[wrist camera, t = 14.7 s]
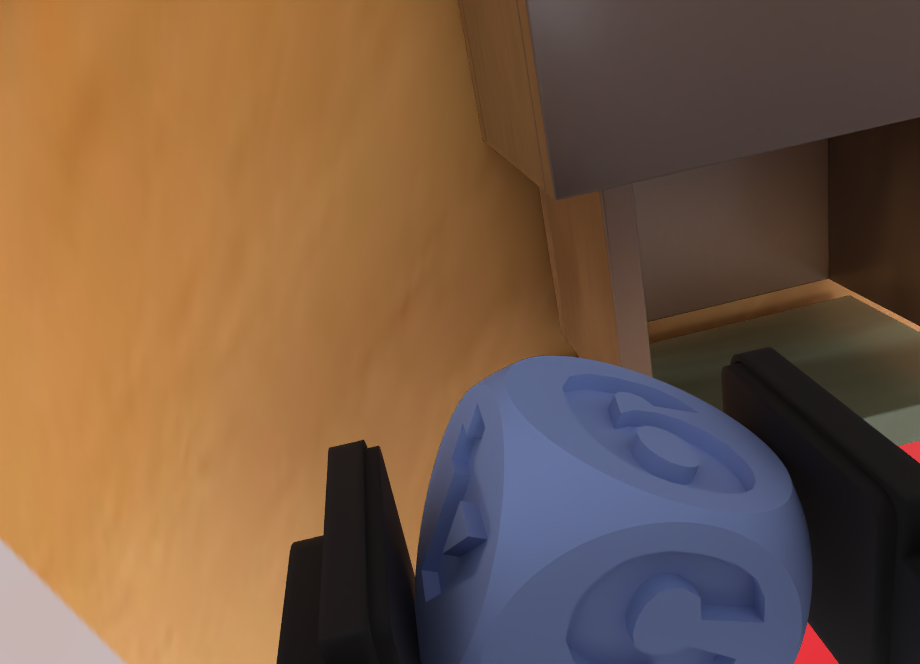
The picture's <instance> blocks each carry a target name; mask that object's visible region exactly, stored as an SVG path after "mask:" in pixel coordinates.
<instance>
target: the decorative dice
mask: <svg viewBox="0 0 920 664" xmlns="http://www.w3.org/2000/svg"><path fill="white" fill-rule="evenodd" d="M811 595H812V554H811V544H810V537H809V531H808V527H807V522H806V518H805V514H804V511H803V508H802V505H801V502H800V499H799V497H798V494H797V492H796V490H795V487H794V485H793V482H792V480H791V477H790V475H789V473H788V471H787V469H786V468H785V466H784V464H783V463H782V462H781V460H780V459H779V458H778V456H777V455H776V454H775V453H774V452H773V451H772V450H771V449H770V448H769V447H768V446H767V445H766V444H765V443H764V442H763V441H762V440H761V439H759V438H758V437H757V436H756V435H755V434H753V433H752V432H751V431H750V430H748V429H747V428H746V427H744V426H743V425H742V424H740V423H739V422H737V421H736V420H734V419H733V418H731V417H730V416H728V415H727V414H725V413H723V412H722V411H720V410H719V409H717V408H715V407H713V406H712V405H710V404H708V403H706V402H705V401H703V400H701V399H699V398H697V397H695V396H693V395H691V394H689V393H687V392H685V391H683V390H681V389H678V388H676V387H674V386H672V385H669V384H667V383H665V382H662V381H660V380H657V379H655V378H652V377H649V376H647V375H644V374H641V373H638V372H635V371H632V370H629V369H626V368H623V367H619V366H616V365H612V364H608V363H604V362H600V361H595V360H590V359H584V358H578V357H570V356H553V355H550V356H536V357H531V358H526V359H524V360H521V361H518V362H516V363H514V364H511V365H509V366H507V367H504V368H502V369H501V370H499V371H497V372H495V373H493V374H492V375H490V376H488V377H486V378H485V379H483V380H482V381H480V382H479V383H477V384H476V385H474V386H473V387H472V388H470V389H469V390H468V391H467V392H466V394H465V395H464V396H463V398H462V399H461V400H460V402H459V404H458V405H457V407H456V409H455V411H454V413H453V415H452V417H451V419H450V421H449V424H448V426H447V428H446V431H445V433H444V436H443V439H442V442H441V445H440V448H439V451H438V454H437V457H436V460H435V464H434V468H433V471H432V475H431V479H430V483H429V487H428V492H427V497H426V501H425V506H424V512H423V517H422V523H421V530H420V537H419V544H418V553H417V563H416V576H415V614H416V624H417V633H418V643H419V653H420V660H421V663H422V664H794V661H795V659H796V657H797V655H798V652H799V650H800V647H801V644H802V641H803V637H804V634H805V630H806V626H807V622H808V617H809V611H810V604H811Z"/></svg>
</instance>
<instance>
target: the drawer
mask: <svg viewBox="0 0 920 664" xmlns="http://www.w3.org/2000/svg"><path fill="white" fill-rule="evenodd" d="M539 192H540V198H541V205H542V211H543V218H544V224H545V230H546V237H547V243H548V250H549V256H550V263H551V269H552V276H553V282H554V289H555V295H556V301H557V308H558V314H559V321H560V327H561V332H562V334H563V335H564V337H565V338H566V339H567V340H568V342H569V344H570V345H571V346H572V348H573V349H574V351H575V352H576V354H577V355H578V356H579V358H584V359H590V360H595V361H600V362H604V363H608V364H612V365H616V366H619V367H623V368H626V369H629V370H632V371H635V372H638V373H641V374H644V375H647V376H649V377H652V378H655V379H657V380H660V381H662V382H665V383H667V384H669V385H672V386H674V387H676V388H678V389H681V390H683V391H685V392H687V393H689V394H691V395H693V396H695V397H697V398H699V399H701V400H703V401H705V402H706V403H708V404H710V405H712V406H713V407H715V408H717V409H719V410H720V411H722V412H723V401H722V382H721V372H722V368H723V367H724V366H727V365H730V362H731V358H732V357H733V356H734V355H735V354H740V353H744V352H748V351H753V350H757V349H761V348H766V347H771V348H773V349H774V350H776V351H777V352H778V353H779V354H781V355H782V356H783V357H785V358H786V359H787V360H788V361H790V362H791V363H792V364H794V365H795V366H796V367H797V368H799V369H800V370H801V371H802V372H804V373H805V374H806V375H808V376H809V377H810V378H811V379H813V380H814V381H815V382H816V383H818V384H819V385H820V386H822V387H823V388H824V389H825V390H827V391H828V392H829V393H831V394H832V395H833V396H834V397H836V398H837V399H838V400H839V401H841V402H842V403H843V404H845V405H846V406H847V407H848V408H850V409H851V410H852V411H853V412H855V413H856V414H857V415H859V416H860V417H861V418H862V419H864V420H865V421H866V422H868V423H869V424H870V425H871V426H873V427H874V428H875V429H876V430H878V431H879V432H880V433H882V434H883V435H884V436H885V437H887V438H888V439H889V440H890V441H892V442H893V443H894V444H896V445H897V446H900V445H904V444H908V443H912V442H916V441H920V332H918V331H916V330H914V329H913V328H911V327H909V326H907V325H905V324H903V323H901V322H899V321H897V320H896V319H894V318H892V317H890V316H888V315H886V314H884V313H882V312H880V311H878V310H877V309H875V308H873V307H871V306H869V305H867V304H865V303H863V302H861V301H860V300H858V299H856V298H854V297H852V296H844V297H840V298H836V299H832V300H828V301H824V302H820V303H815V304H811V305H807V306H803V307H799V308H795V309H791V310H786V311H782V312H778V313H774V314H770V315H766V316H762V317H757V318H753V319H749V320H745V321H741V322H737V323H733V324H728V325H724V326H720V327H716V328H712V329H708V330H704V331H699V332H695V333H691V334H687V335H683V336H679V337H675V338H670V339H666V340H662V341H658V342H654V343H650V344H649V335H648V326H647V322H649V321H653V320H658V319H662V318H666V317H670V316H674V315H678V314H683V313H687V312H691V311H695V310H699V309H703V308H708V307H712V306H716V305H720V304H724V303H729V302H733V301H737V300H741V299H745V298H749V297H754V296H758V295H762V294H766V293H770V292H774V291H779V290H783V289H787V288H791V287H795V286H799V285H804V284H808V283H812V282H816V281H820V280H824V279H830V280H832V281H834V282H836V283H838V284H840V285H842V286H844V287H845V288H847V289H849V290H851V291H853V292H855V293H857V294H859V295H861V296H863V297H865V298H867V299H869V300H871V301H873V302H874V303H876V304H878V305H880V306H882V307H884V308H886V309H888V310H890V311H892V312H894V313H896V314H898V315H900V316H901V317H903V318H905V319H907V320H909V321H911V322H913V323H915V324H917V325H919V326H920V117H919V118H915V119H910V120H906V121H901V122H897V123H893V124H888V125H884V126H880V127H875V128H871V129H867V130H862V131H858V132H853V133H849V134H845V135H840V136H836V137H832V138H827V139H823V140H819V141H814V142H810V143H805V144H801V145H797V146H792V147H788V148H784V149H779V150H775V151H771V152H766V153H762V154H757V155H753V156H749V157H744V158H740V159H736V160H731V161H727V162H723V163H718V164H714V165H709V166H705V167H701V168H696V169H692V170H688V171H683V172H679V173H675V174H670V175H666V176H661V177H657V178H653V179H648V180H644V181H640V182H635V183H631V184H627V185H622V186H618V187H613V188H609V189H605V190H600V191H596V192H592V193H587V194H583V195H579V196H574V197H570V198H565V199H561V200H555V199H553V198H552V197H551V196H550V195H549V194H547V192H545V191H544V190H543V189H541V188H540V187H539Z"/></svg>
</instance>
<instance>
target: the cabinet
mask: <svg viewBox="0 0 920 664" xmlns="http://www.w3.org/2000/svg"><path fill="white" fill-rule="evenodd" d="M458 3H459V9H460V14H461V20H462V25H463V31H464V36H465V42H466V47H467V53H468V59H469V64H470V70H471V75H472V81H473V86H474V92H475V98H476V103H477V109H478V114H479V120H480V125H481V131H482V136H483V141H484V142H485V143H486V144H487V145H489V146H490V147H491V148H492V149H494V150H495V151H496V152H497V153H499V154H500V155H501V156H502V157H503V158H505V159H506V160H507V161H508V162H510V163H511V164H512V165H513V166H514V167H516V168H517V169H518V170H519V171H521V172H522V173H523V174H524V175H525V176H527V177H528V178H529V179H530V180H532V181H533V182H534V183H535V184H536V185H538V186H539V187H540V188H541V189H543V190H544V191H545V192H547V194H549V195H550V196H551V197H552V198H553V199H555V200H561V199H565V198H570V197H574V196H579V195H583V194H587V193H592V192H596V191H600V190H605V189H609V188H613V187H618V186H622V185H627V184H631V183H635V182H640V181H644V180H648V179H653V178H657V177H661V176H666V175H670V174H675V173H679V172H683V171H688V170H692V169H696V168H701V167H705V166H709V165H714V164H718V163H723V162H727V161H731V160H736V159H740V158H744V157H749V156H753V155H757V154H762V153H766V152H771V151H775V150H779V149H784V148H788V147H792V146H797V145H801V144H805V143H810V142H814V141H819V140H823V139H827V138H832V137H836V136H840V135H845V134H849V133H853V132H858V131H862V130H867V129H871V128H875V127H880V126H884V125H888V124H893V123H897V122H901V121H906V120H910V119H915V118H919V117H920V0H458Z"/></svg>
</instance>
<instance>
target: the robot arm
mask: <svg viewBox="0 0 920 664" xmlns="http://www.w3.org/2000/svg"><path fill="white" fill-rule="evenodd" d="M721 382H722V401H723V413H725V414H727V415H728V416H730V417H731V418H733V419H734V420H736V421H737V422H739V423H740V424H742V425H743V426H744V427H746V428H747V429H748V430H750V431H751V432H752V433H753V434H755V435H756V436H757V437H758V438H759V439H761V440H762V441H763V442H764V443H765V444H766V445H767V446H768V447H769V448H770V449H771V450H772V451H773V452H774V453H775V454H776V455H777V456H778V458H779V459H780V460H781V462H782V463H783V464H784V466H785V468H786V469H787V471H788V473H789V475H790V477H791V480H792V482H793V485H794V487H795V490H796V492H797V494H798V497H799V499H800V502H801V505H802V508H803V511H804V514H805V518H806V522H807V527H808V531H809V537H810V544H811V554H812V595H811V604H810V611H809V617H808V623H809V624H810V625H811V627H812V628H813V630H814V631H815V632H816V634H817V635H818V636H819V638H820V639H821V640H822V641H823V643H824V644H825V646H826V647H827V648H828V650H829V651H830V652H831V653H832V655H833V656H834V657H835V659H836V660H837V661H838V663H839V664H920V463H918V462H917V461H916V460H915V459H913V458H912V457H911V456H910V455H908V454H907V453H906V452H904V451H903V450H902V449H901V448H899V447H898V446H897V445H896V444H894V443H893V442H892V441H890V440H889V439H888V438H887V437H885V436H884V435H883V434H882V433H880V432H879V431H878V430H876V429H875V428H874V427H873V426H871V425H870V424H869V423H868V422H866V421H865V420H864V419H862V418H861V417H860V416H859V415H857V414H856V413H855V412H853V411H852V410H851V409H850V408H848V407H847V406H846V405H845V404H843V403H842V402H841V401H839V400H838V399H837V398H836V397H834V396H833V395H832V394H831V393H829V392H828V391H827V390H825V389H824V388H823V387H822V386H820V385H819V384H818V383H816V382H815V381H814V380H813V379H811V378H810V377H809V376H808V375H806V374H805V373H804V372H802V371H801V370H800V369H799V368H797V367H796V366H795V365H794V364H792V363H791V362H790V361H788V360H787V359H786V358H785V357H783V356H782V355H781V354H779V353H778V352H777V351H776V350H774V349H773V348H771V347H766V348H761V349H757V350H753V351H748V352H744V353H740V354H735V355H734V356H733V357H732V358H731V362H730V365H727V366H724V367H723V368H722V372H721ZM277 664H422V663H421V660H420V653H419V643H418V633H417V624H416V614H415V575H414V572H413V568H412V564H411V560H410V557H409V553H408V549H407V545H406V542H405V538H404V534H403V530H402V527H401V523H400V519H399V516H398V512H397V508H396V504H395V501H394V497H393V493H392V489H391V486H390V482H389V478H388V474H387V471H386V467H385V463H384V459H383V456H382V452H381V449H380V447H379V446H376V447H372V448H367V446H366V443H365V441H364V440H361V441H357V442H352V443H348V444H344V445H339V446H335V447H331V448H329V451H328V467H327V484H326V502H325V519H324V535H323V536H319V537H314V538H310V539H306V540H302V541H297V542H294V543H293V544H292V545H291V550H290V556H289V564H288V573H287V581H286V589H285V598H284V606H283V614H282V623H281V631H280V640H279V648H278V656H277Z"/></svg>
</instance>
